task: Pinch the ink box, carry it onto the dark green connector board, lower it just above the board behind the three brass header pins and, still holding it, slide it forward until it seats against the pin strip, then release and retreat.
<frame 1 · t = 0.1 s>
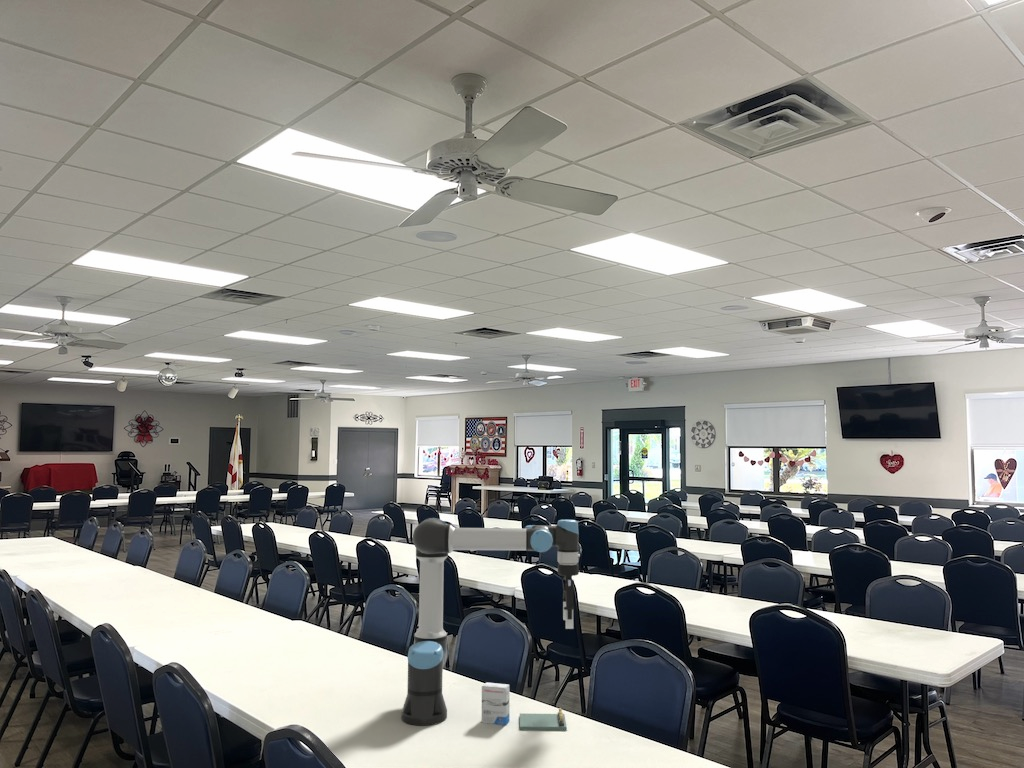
hand: (568, 624, 257), 28 cm above the table, fingers open, 13 cm apart
header board: (542, 723, 237), on the table
ink box: (495, 722, 238), on the table
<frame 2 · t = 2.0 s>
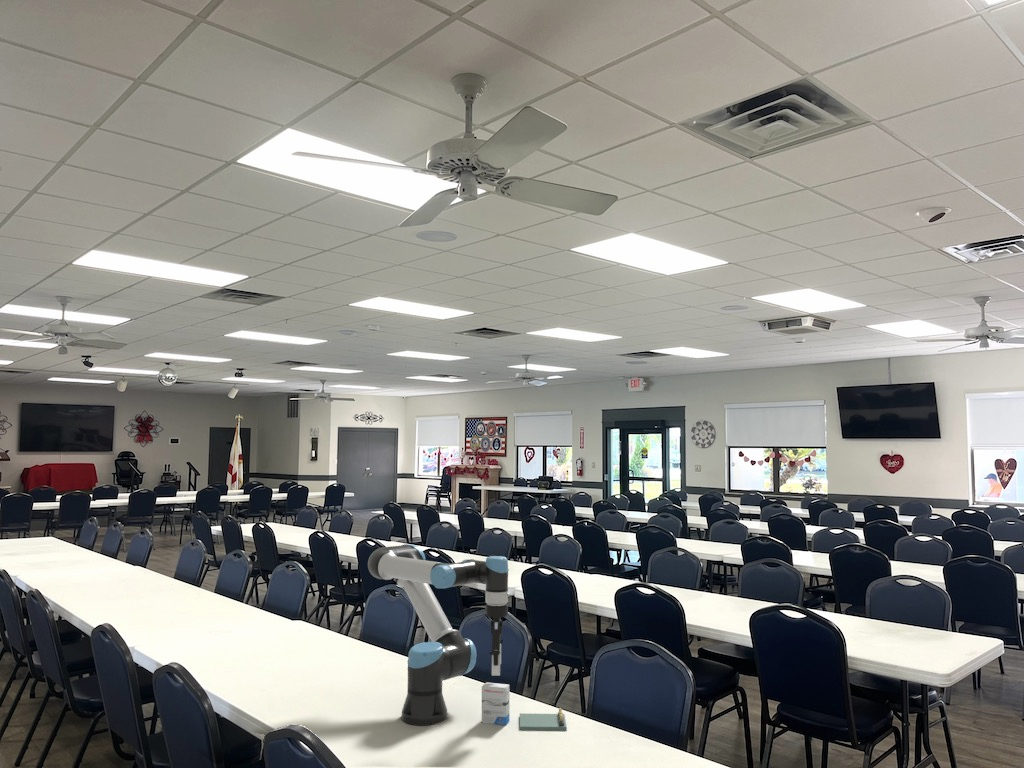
hand: (496, 669, 240), 17 cm above the table, fingers open, 13 cm apart
nothing on the table moved.
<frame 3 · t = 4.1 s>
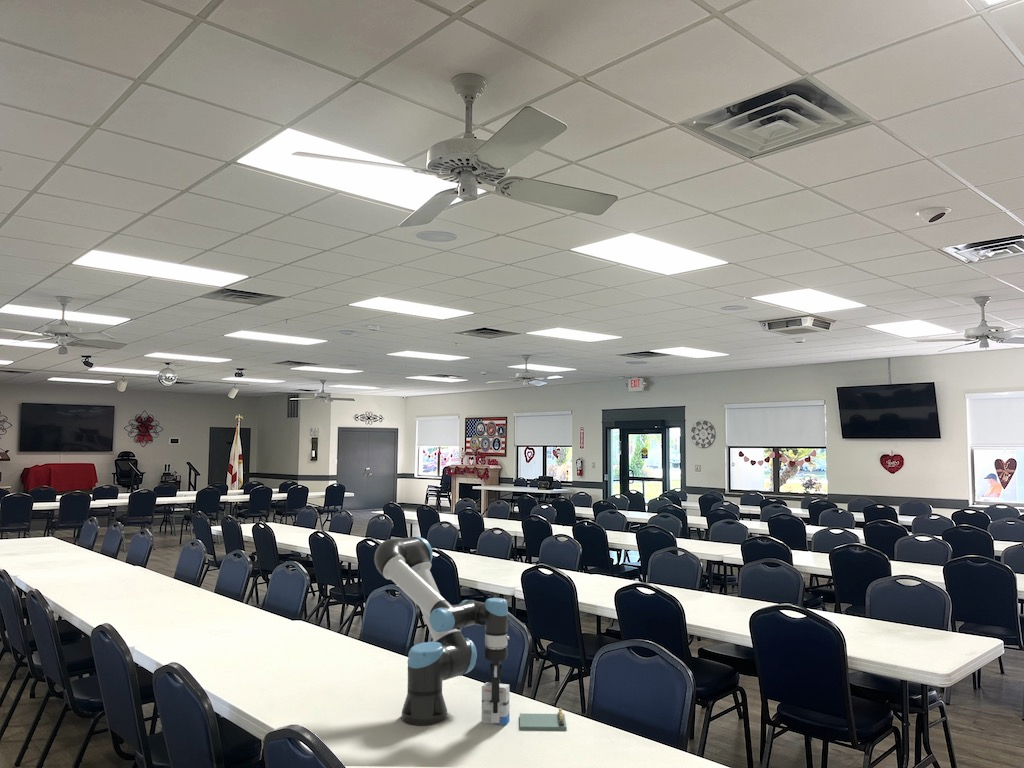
hand: (495, 718, 238), 1 cm above the table, fingers closed on ink box, 6 cm apart
ink box: (495, 722, 238), on the table, touching gripper
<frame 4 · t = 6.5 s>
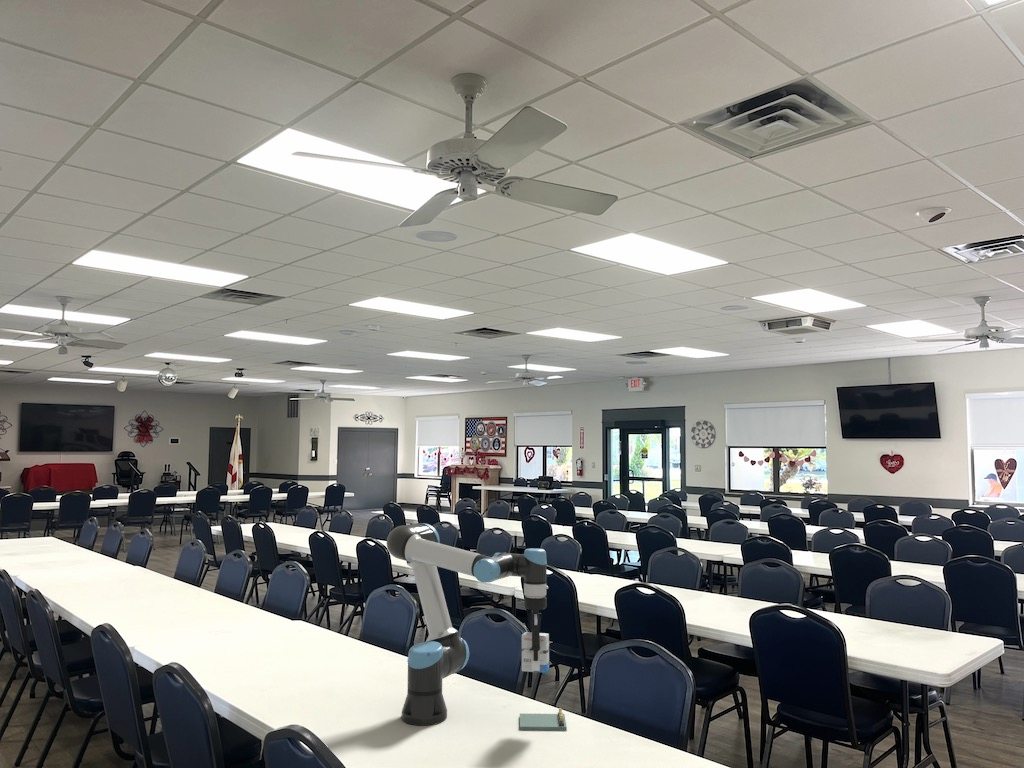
hand: (535, 667, 239), 18 cm above the table, fingers closed on ink box, 6 cm apart
ink box: (535, 670, 239), point 17 cm above the table, touching gripper
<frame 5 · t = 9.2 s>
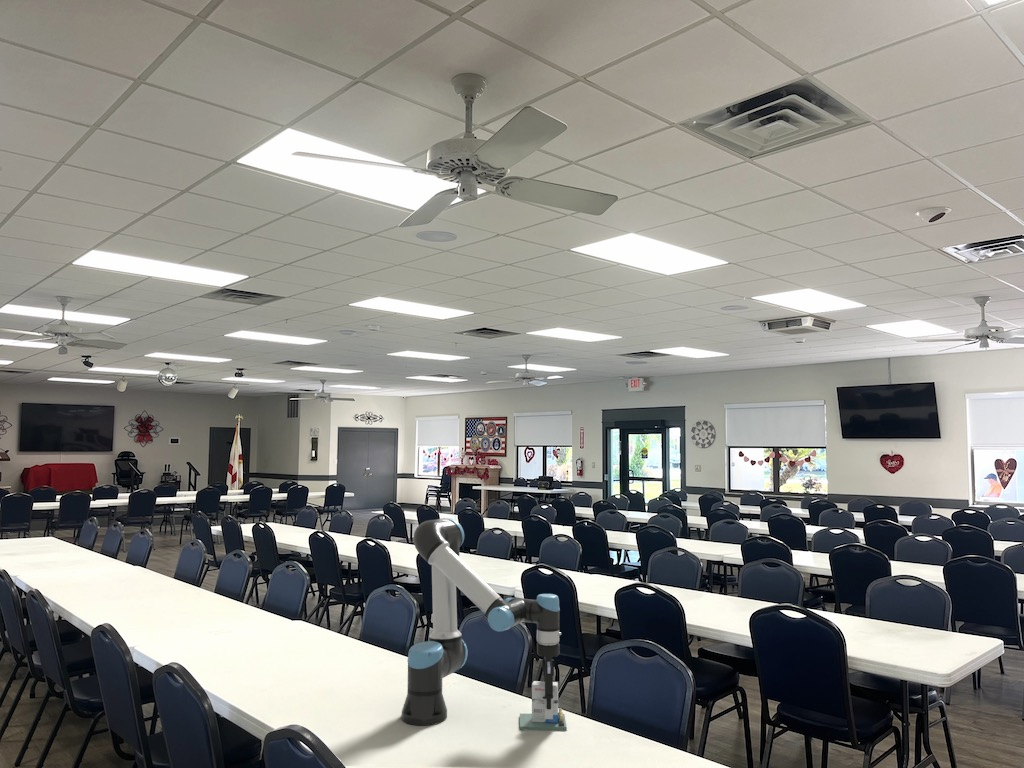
hand: (548, 715, 237), 3 cm above the table, fingers closed on ink box, 5 cm apart
ink box: (545, 720, 237), point 1 cm above the table, touching gripper, header board
when the fingers open (2 cm above the table, at t = 9.5 s): ink box stays where it is, resting on header board.
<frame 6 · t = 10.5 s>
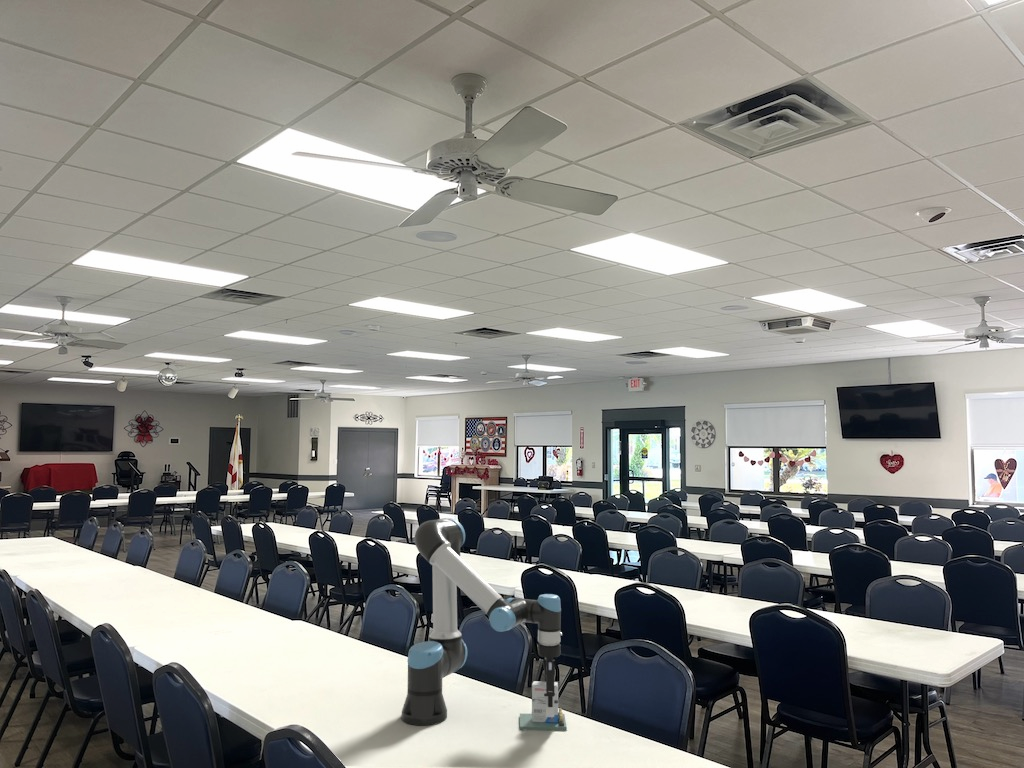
hand: (549, 709, 237), 4 cm above the table, fingers open, 13 cm apart
ink box: (545, 720, 237), point 1 cm above the table, touching header board
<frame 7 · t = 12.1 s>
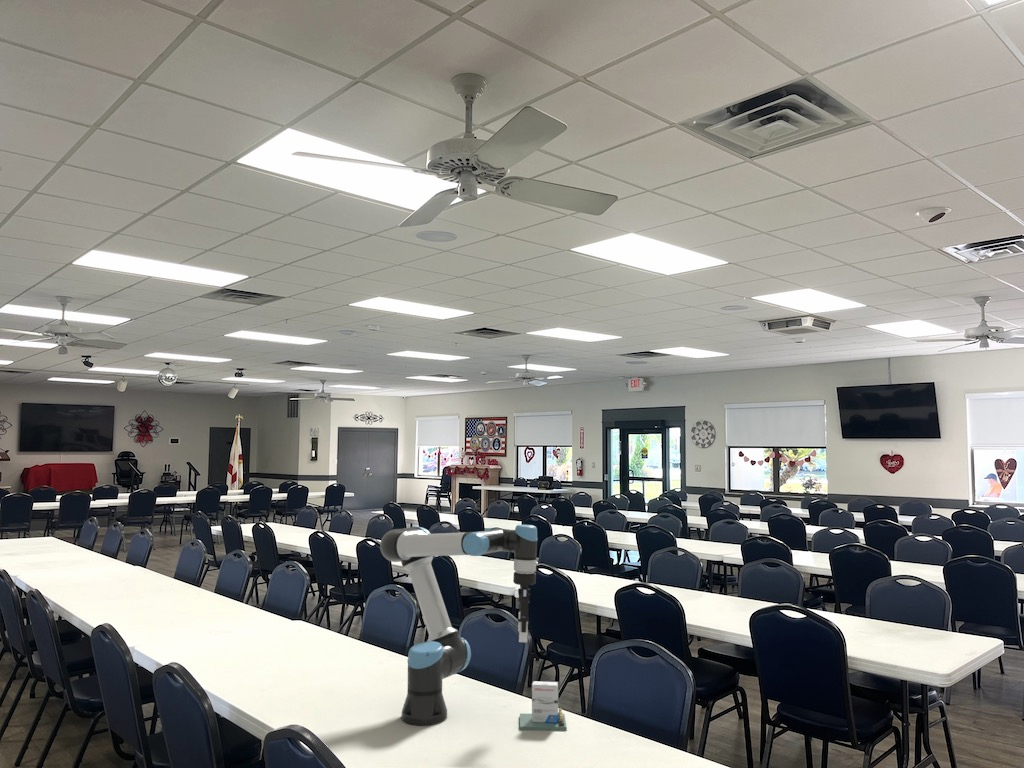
hand: (522, 636, 240), 27 cm above the table, fingers open, 13 cm apart
nothing on the table moved.
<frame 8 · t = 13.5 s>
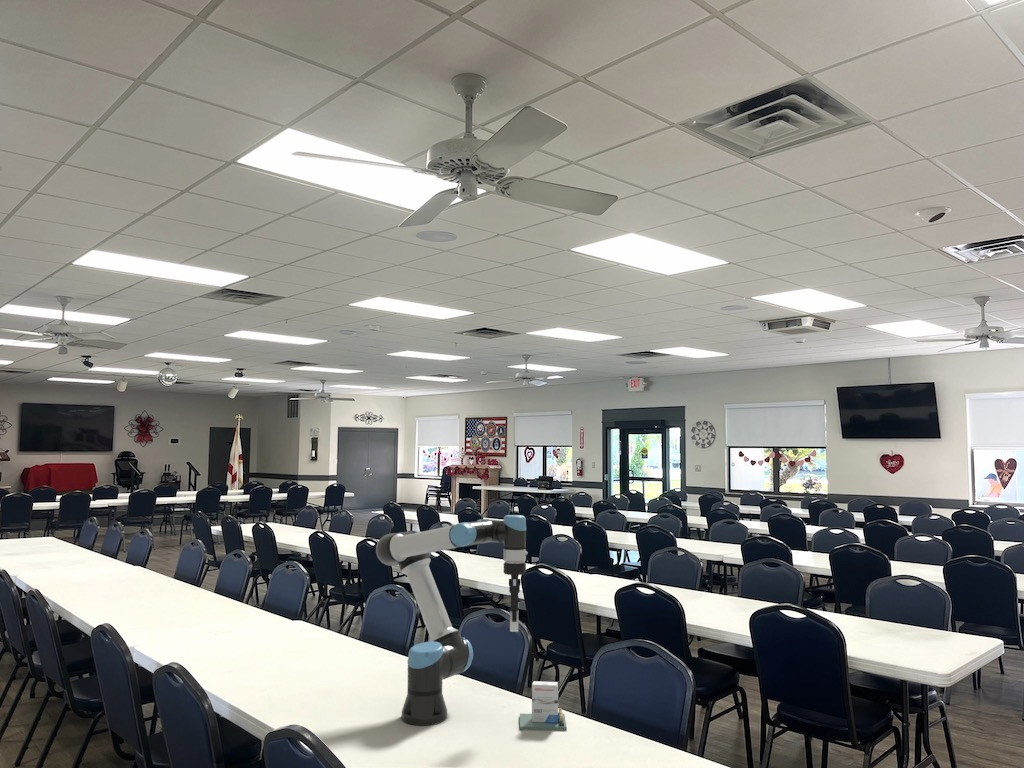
hand: (514, 626, 240), 31 cm above the table, fingers open, 13 cm apart
nothing on the table moved.
at the end: ink box 1.3 cm from the target spot on the header board, point 0.8 cm above the header board's base; ink box tilted 0°; the gripper is holding nothing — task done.
